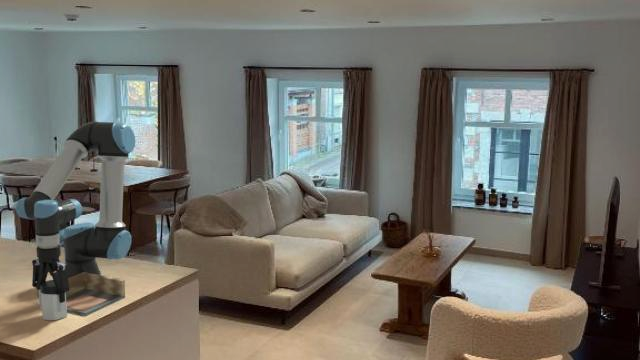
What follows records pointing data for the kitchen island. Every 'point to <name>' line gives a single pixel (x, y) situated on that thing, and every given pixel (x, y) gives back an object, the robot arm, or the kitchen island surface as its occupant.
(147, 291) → the kitchen island surface
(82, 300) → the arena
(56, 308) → the jar
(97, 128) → the robot arm
